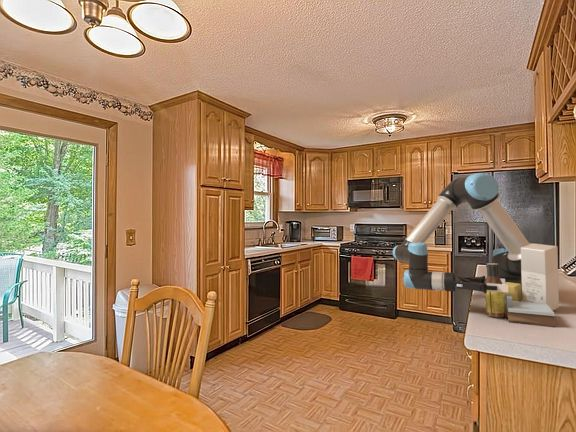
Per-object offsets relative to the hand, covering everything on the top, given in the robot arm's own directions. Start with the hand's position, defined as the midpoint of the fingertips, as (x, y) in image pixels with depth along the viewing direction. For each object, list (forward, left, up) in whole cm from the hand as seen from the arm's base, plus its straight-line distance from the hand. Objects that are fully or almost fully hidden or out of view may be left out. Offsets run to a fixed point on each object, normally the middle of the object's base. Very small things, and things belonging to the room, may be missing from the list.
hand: (506, 285), depth 124 cm
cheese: (-17, 0, -12) cm, 21 cm away
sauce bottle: (0, -4, -12) cm, 13 cm away
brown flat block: (0, +6, -12) cm, 14 cm away
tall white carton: (-18, +12, -11) cm, 24 cm away
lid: (0, +6, -8) cm, 10 cm away
